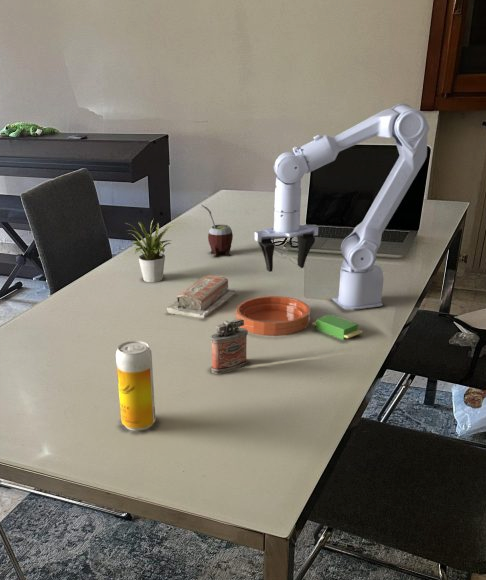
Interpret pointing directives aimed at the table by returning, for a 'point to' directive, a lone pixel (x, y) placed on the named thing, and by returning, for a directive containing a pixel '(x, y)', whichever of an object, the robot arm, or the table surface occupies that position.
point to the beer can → (135, 385)
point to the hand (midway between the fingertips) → (285, 268)
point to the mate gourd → (219, 238)
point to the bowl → (273, 315)
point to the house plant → (151, 254)
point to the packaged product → (202, 297)
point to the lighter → (229, 347)
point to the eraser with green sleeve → (337, 327)
